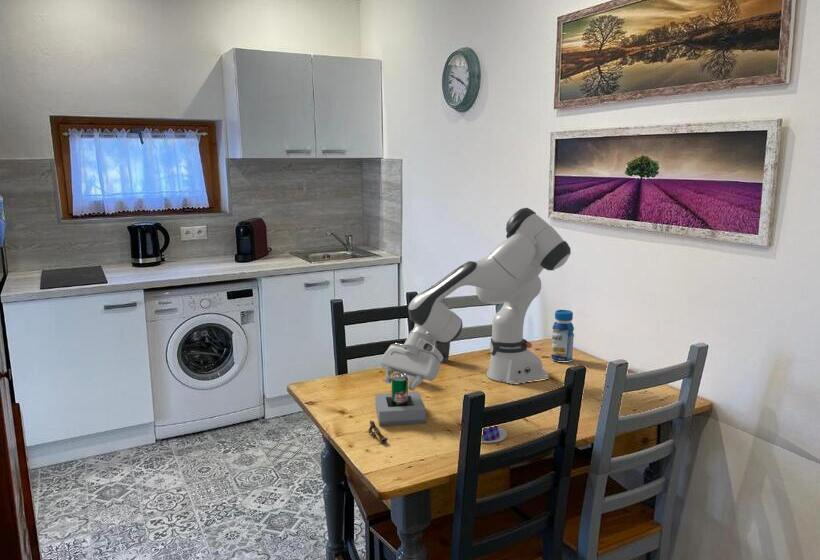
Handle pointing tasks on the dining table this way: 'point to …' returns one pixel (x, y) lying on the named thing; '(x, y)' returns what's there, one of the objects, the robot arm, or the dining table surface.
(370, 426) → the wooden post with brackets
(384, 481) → the dining table surface
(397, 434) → the dining table surface
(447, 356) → the beverage cup
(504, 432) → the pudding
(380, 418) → the block
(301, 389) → the dining table surface
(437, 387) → the dining table surface
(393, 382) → the soda can
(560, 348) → the beverage bottle
